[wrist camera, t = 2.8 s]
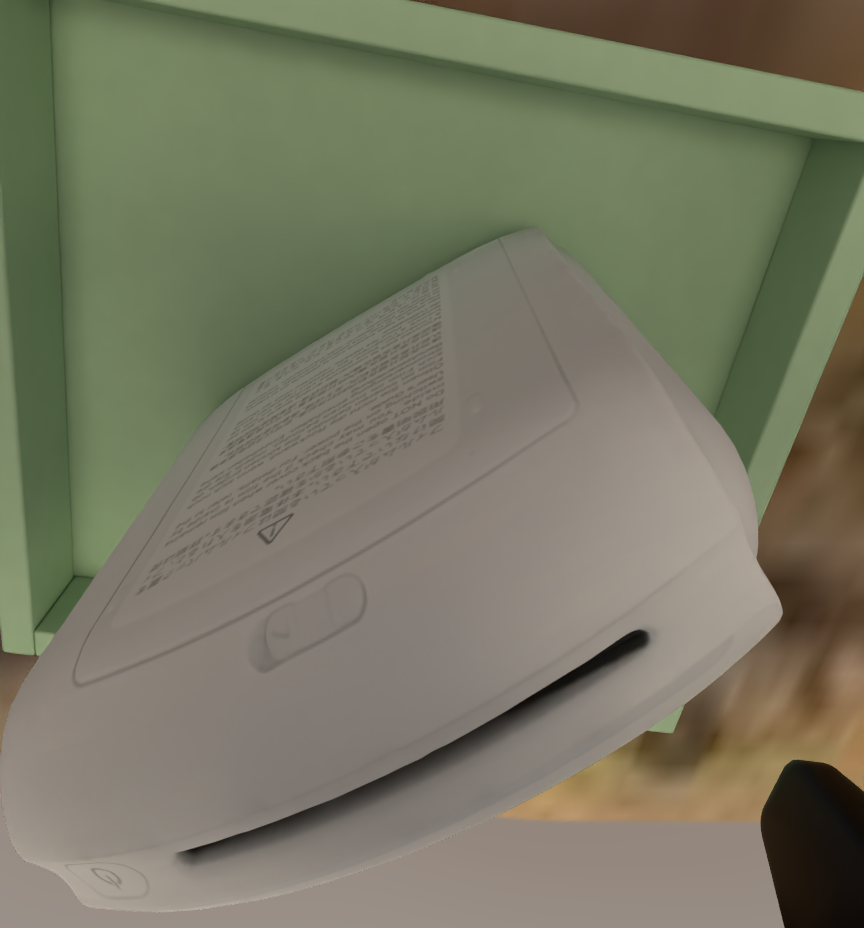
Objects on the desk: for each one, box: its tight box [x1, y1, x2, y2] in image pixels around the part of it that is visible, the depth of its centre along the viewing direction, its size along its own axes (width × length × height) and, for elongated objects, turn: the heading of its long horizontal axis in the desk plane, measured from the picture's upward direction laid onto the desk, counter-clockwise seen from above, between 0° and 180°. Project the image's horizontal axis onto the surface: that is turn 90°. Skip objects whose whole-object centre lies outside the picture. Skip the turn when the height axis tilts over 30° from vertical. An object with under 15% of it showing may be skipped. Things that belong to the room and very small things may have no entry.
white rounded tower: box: [0, 226, 783, 912], centre depth 13 cm, size 10×4×12 cm, turn 121°
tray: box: [0, 0, 864, 733], centre depth 18 cm, size 18×16×3 cm
